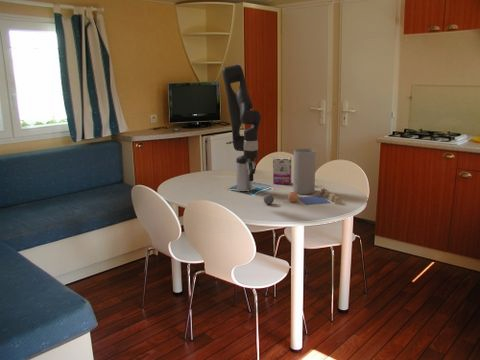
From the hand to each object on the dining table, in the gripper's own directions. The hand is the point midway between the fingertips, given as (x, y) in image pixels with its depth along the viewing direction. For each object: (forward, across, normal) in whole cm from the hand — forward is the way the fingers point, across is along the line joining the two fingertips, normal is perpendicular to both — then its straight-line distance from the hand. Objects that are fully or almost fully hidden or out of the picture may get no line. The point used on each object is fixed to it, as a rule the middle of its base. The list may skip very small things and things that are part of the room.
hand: (251, 180), depth 244 cm
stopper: (+14, 0, +45) cm, 47 cm away
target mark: (+14, 0, +36) cm, 38 cm away
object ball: (+11, 0, +24) cm, 26 cm away
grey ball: (+11, 0, +10) cm, 15 cm away
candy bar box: (+14, -41, +30) cm, 53 cm away
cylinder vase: (+14, -18, +37) cm, 43 cm away
